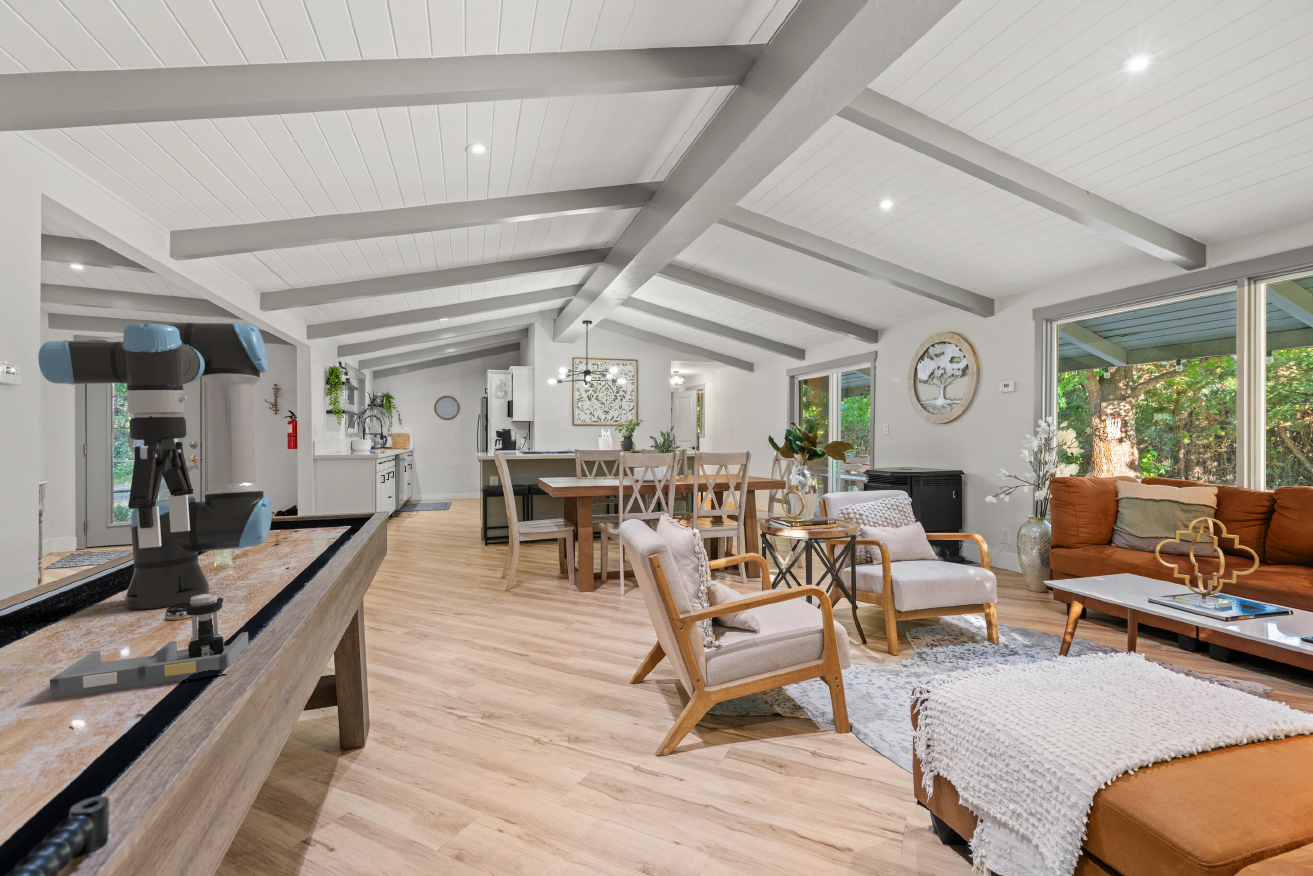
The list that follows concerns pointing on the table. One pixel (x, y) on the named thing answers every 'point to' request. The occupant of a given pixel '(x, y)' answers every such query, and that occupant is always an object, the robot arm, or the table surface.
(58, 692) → the gray divided compartment tray
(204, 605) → the push button
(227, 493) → the robot arm
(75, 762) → the table surface
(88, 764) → the table surface
